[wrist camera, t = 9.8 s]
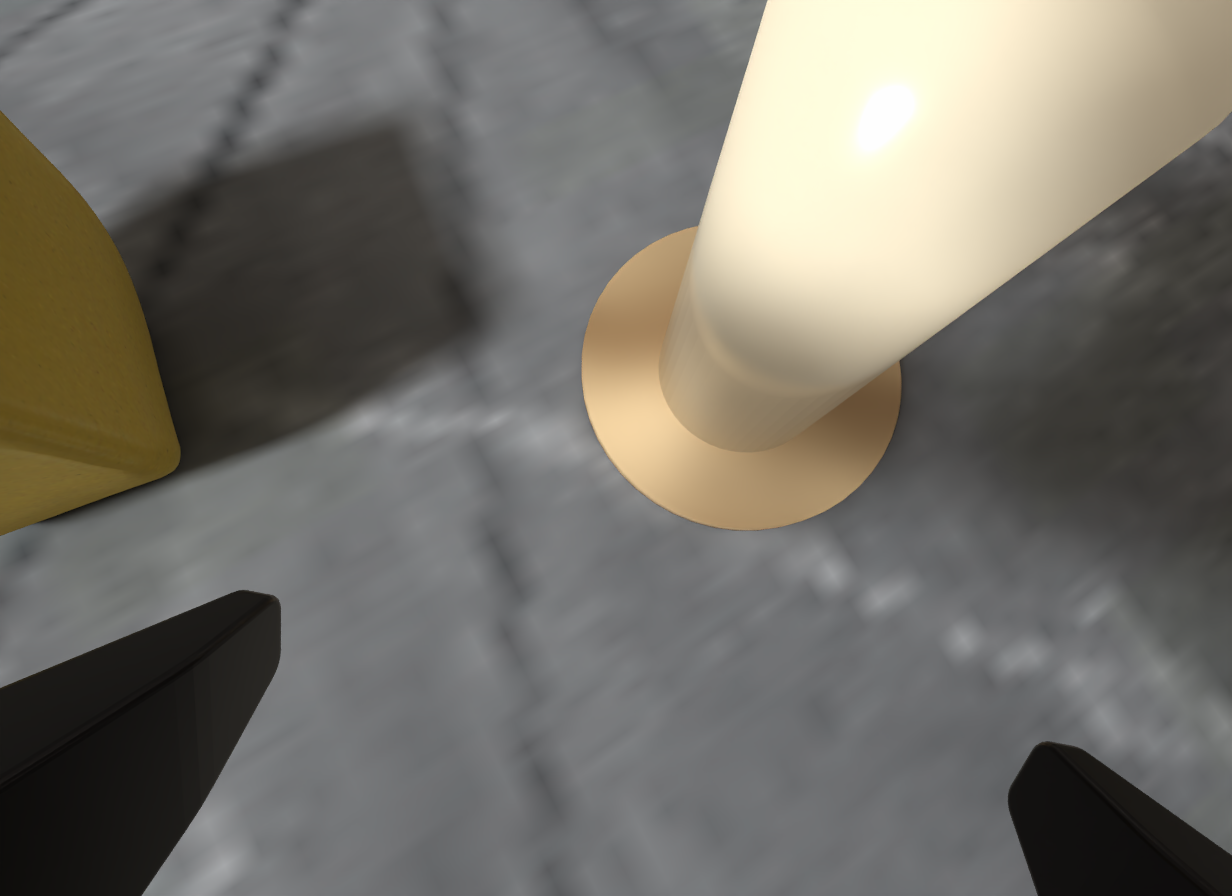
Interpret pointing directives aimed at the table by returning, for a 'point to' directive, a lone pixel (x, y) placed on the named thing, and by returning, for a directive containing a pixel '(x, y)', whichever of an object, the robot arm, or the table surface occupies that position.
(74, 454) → the flower pot
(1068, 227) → the cream glossy rounded body
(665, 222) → the table surface
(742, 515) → the cork coaster
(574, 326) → the table surface
